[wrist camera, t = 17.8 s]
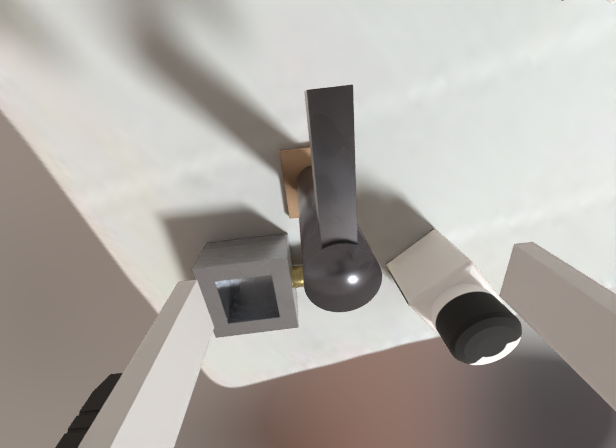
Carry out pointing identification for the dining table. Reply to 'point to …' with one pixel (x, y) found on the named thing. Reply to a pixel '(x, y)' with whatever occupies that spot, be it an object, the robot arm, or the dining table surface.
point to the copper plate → (294, 174)
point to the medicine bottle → (455, 300)
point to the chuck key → (333, 208)
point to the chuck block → (249, 284)
